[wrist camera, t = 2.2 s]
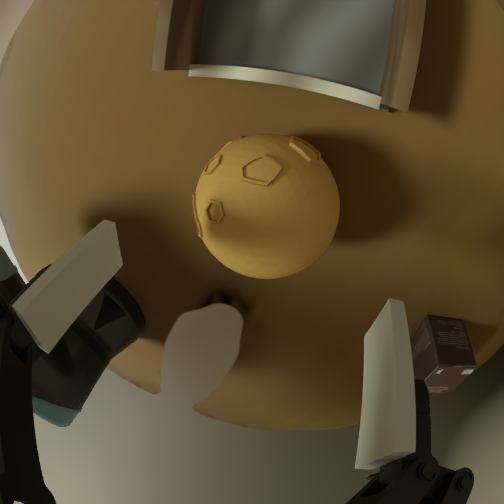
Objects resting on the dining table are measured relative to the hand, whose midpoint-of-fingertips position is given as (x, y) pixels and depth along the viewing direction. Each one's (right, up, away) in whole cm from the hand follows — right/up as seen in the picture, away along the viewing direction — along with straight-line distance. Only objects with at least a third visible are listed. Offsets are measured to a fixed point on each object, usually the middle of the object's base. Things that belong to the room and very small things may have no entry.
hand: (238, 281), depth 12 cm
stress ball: (+3, +7, +11) cm, 13 cm away
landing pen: (+4, +20, +1) cm, 21 cm away
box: (+23, -9, +16) cm, 29 cm away
